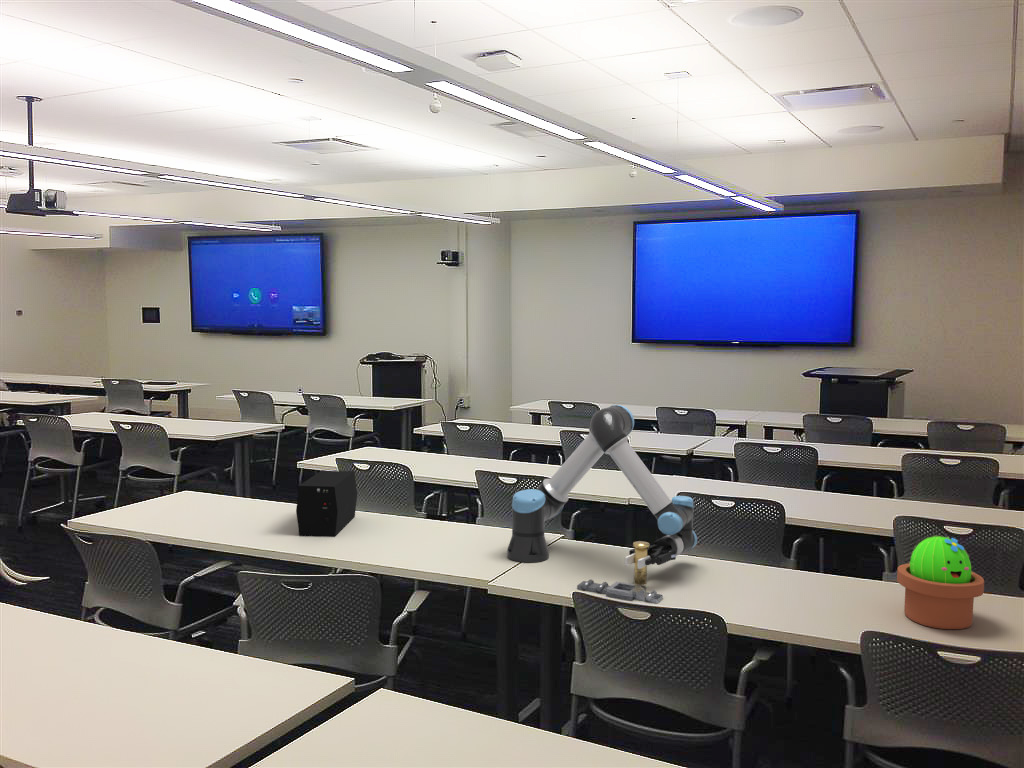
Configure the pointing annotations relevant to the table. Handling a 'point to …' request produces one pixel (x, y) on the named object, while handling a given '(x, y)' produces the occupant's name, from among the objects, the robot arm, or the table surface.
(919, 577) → the potted cactus
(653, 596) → the chain end right
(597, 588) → the chain end left
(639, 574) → the brass pin
